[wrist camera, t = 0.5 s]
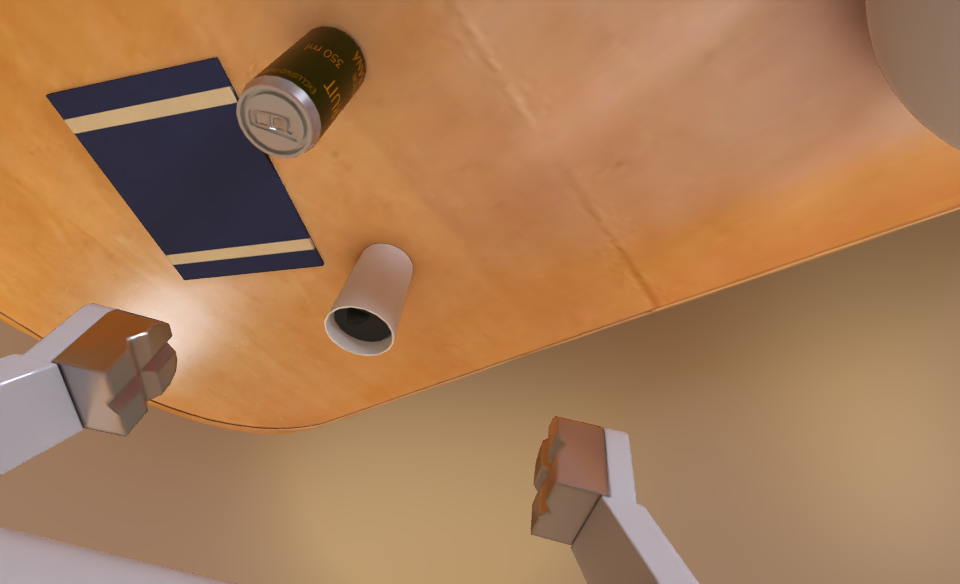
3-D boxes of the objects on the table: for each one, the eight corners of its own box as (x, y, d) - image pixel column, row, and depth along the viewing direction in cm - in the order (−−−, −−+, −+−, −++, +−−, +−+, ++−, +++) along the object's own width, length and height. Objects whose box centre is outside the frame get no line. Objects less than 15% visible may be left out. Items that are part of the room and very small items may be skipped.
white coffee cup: (351, 277, 59) (320, 343, 51) (361, 231, 54) (328, 296, 47) (409, 295, 59) (386, 363, 52) (423, 252, 55) (400, 319, 48)
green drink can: (303, 83, 44) (237, 150, 36) (302, 15, 41) (227, 71, 32) (366, 99, 45) (315, 170, 36) (370, 33, 41) (315, 94, 32)
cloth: (48, 93, 48) (45, 95, 48) (217, 57, 44) (214, 59, 44) (186, 278, 62) (184, 280, 62) (324, 263, 58) (322, 266, 57)
